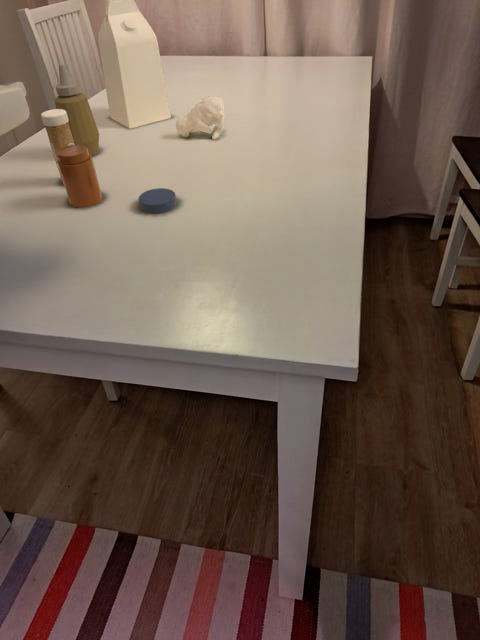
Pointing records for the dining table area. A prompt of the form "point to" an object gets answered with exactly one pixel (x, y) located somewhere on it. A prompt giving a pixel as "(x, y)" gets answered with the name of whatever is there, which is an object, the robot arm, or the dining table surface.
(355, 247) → the dining table surface
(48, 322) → the dining table surface
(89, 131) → the squeeze bottle
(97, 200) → the jar
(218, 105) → the white lumpy piece
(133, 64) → the milk
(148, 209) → the lid
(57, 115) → the sprinkles bottle
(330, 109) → the dining table surface
